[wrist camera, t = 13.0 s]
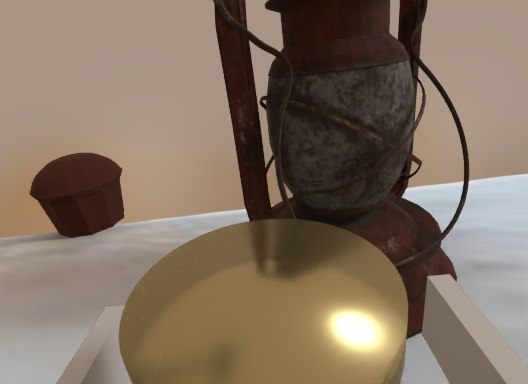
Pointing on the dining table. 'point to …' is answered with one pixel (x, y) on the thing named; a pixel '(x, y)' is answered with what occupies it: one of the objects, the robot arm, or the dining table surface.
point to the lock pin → (268, 310)
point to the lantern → (339, 126)
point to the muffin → (80, 193)
